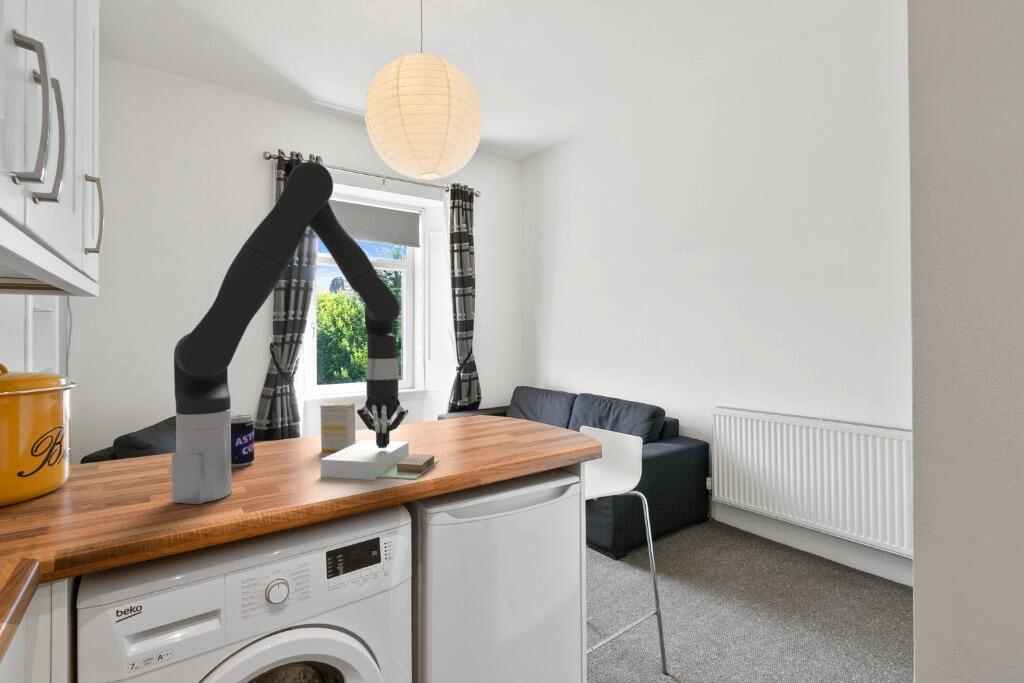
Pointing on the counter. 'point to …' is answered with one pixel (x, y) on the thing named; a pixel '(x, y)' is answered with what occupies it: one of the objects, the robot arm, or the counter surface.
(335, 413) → the supplement box
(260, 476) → the counter surface
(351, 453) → the white flat block
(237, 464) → the beverage can
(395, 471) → the mat
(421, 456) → the brown wooden block
